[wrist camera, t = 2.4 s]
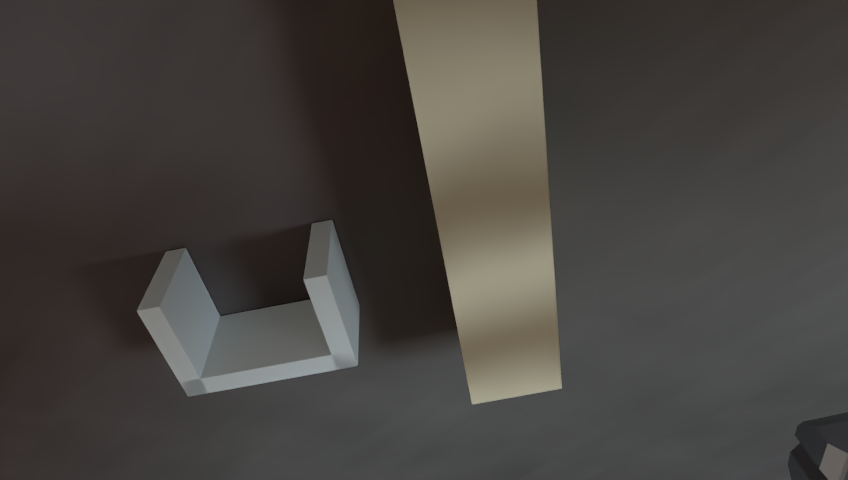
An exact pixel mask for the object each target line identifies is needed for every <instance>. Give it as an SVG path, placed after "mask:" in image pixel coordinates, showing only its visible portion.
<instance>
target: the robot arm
mask: <svg viewBox="0 0 848 480" xmlns="http://www.w3.org/2000/svg"><path fill="white" fill-rule="evenodd" d="M795 436H796V438H797V439H798V440H799V442H800V444H798V445H797V446H796V447H795V448H794V449H793V450H792V451H791V452H790V456H789V461H788V468H789V472H790V477H791V480H848V412H846V413H842V414H837V415H832V416H827V417H822V418H818V419H813V420H808V421H803V422H802V423H801V424H799V425H798V426H797V429H796V433H795Z"/></svg>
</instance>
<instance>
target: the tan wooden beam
mask: <svg viewBox="0 0 848 480" xmlns="http://www.w3.org/2000/svg"><path fill="white" fill-rule="evenodd" d="M393 2H394V8H395V13H396V18H397V23H398V28H399V33H400V38H401V43H402V48H403V54H404V59H405V64H406V69H407V74H408V79H409V84H410V89H411V94H412V100H413V105H414V110H415V115H416V120H417V125H418V130H419V135H420V140H421V146H422V151H423V156H424V161H425V166H426V171H427V176H428V181H429V186H430V192H431V197H432V202H433V207H434V212H435V217H436V222H437V227H438V232H439V238H440V243H441V248H442V253H443V258H444V263H445V268H446V273H447V279H448V284H449V289H450V294H451V299H452V304H453V309H454V314H455V319H456V325H457V330H458V335H459V340H460V345H461V350H462V355H463V360H464V365H465V371H466V376H467V381H468V386H469V391H470V396H471V401H472V404H478V403H484V402H489V401H495V400H500V399H506V398H511V397H517V396H523V395H528V394H534V393H539V392H545V391H550V390H556V389H561V388H562V384H561V369H560V353H559V338H558V322H557V307H556V291H555V276H554V260H553V245H552V229H551V214H550V198H549V183H548V167H547V152H546V136H545V121H544V105H543V90H542V74H541V59H540V43H539V28H538V12H537V0H393Z"/></svg>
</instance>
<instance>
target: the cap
mask: <svg viewBox="0 0 848 480" xmlns="http://www.w3.org/2000/svg"><path fill="white" fill-rule="evenodd" d="M303 280H304V283H305V286H306V288H307V291H308V294H309V296H310V300H304V301H299V302H294V303H288V304H283V305H278V306H272V307H267V308H262V309H256V310H251V311H245V312H240V313H235V314H229V315H224V316H220V315H219V313H218V311H217V309H216V307H215V305H214V303H213V301H212V299H211V297H210V295H209V293H208V291H207V289H206V287H205V285H204V283H203V281H202V279H201V277H200V275H199V273H198V271H197V269H196V267H195V265H194V263H193V261H192V259H191V257H190V255H189V253H188V251H187V249H186V248H182V249H177V250H171V251H166V252H165V254H164V256H163V258H162V260H161V262H160V264H159V266H158V268H157V270H156V272H155V275H154V277H153V279H152V281H151V283H150V285H149V287H148V289H147V291H146V293H145V295H144V297H143V299H142V301H141V303H140V305H139V307H138V309H137V313H138V314H139V316H140V318H141V319H142V321H143V323H144V324H145V326H146V328H147V329H148V331H149V333H150V334H151V336H152V338H153V339H154V341H155V343H156V344H157V346H158V348H159V349H160V351H161V353H162V354H163V356H164V358H165V359H166V361H167V363H168V364H169V366H170V367H171V369H172V371H173V372H174V374H175V376H176V377H177V379H178V381H179V382H180V384H181V386H182V387H183V389H184V391H185V392H186V394H187V396H188V397H190V396H195V395H201V394H206V393H212V392H217V391H223V390H228V389H234V388H239V387H245V386H250V385H256V384H261V383H267V382H272V381H278V380H283V379H289V378H294V377H300V376H305V375H311V374H316V373H322V372H327V371H333V370H338V369H344V368H349V367H355V366H358V342H359V302H358V299H357V296H356V293H355V290H354V287H353V284H352V280H351V277H350V274H349V271H348V268H347V265H346V261H345V258H344V255H343V252H342V249H341V246H340V243H339V239H338V236H337V233H336V230H335V227H334V224H333V220H328V221H322V222H317V223H312V226H311V232H310V239H309V245H308V252H307V258H306V265H305V271H304V278H303Z"/></svg>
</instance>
